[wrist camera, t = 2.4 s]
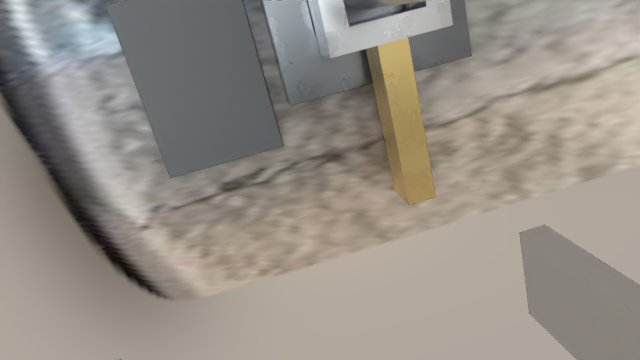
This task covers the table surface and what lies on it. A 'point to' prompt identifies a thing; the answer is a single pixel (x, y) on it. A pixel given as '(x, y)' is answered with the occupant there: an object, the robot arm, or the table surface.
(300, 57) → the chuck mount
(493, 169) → the table surface
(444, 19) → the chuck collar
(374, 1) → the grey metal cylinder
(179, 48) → the pad
